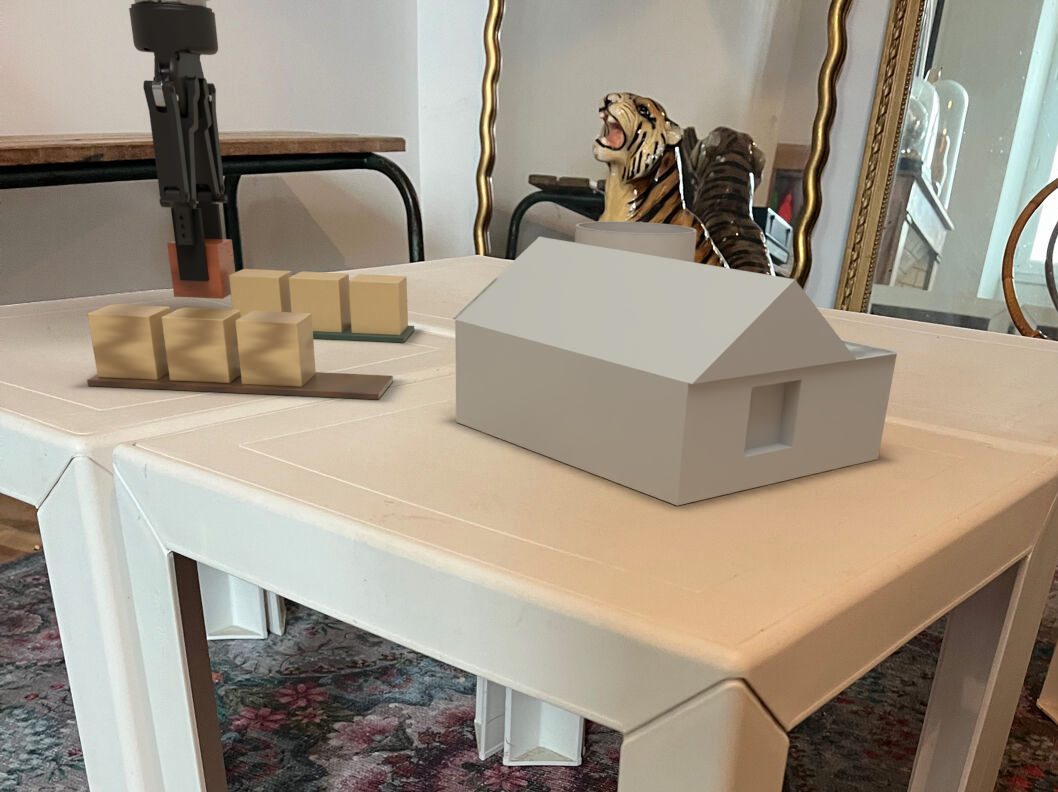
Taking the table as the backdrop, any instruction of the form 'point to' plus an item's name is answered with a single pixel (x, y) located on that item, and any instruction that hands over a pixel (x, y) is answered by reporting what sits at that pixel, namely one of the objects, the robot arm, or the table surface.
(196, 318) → the front word
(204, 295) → the copper orange cube
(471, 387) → the toy house
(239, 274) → the block row
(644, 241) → the planter
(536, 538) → the table surface
